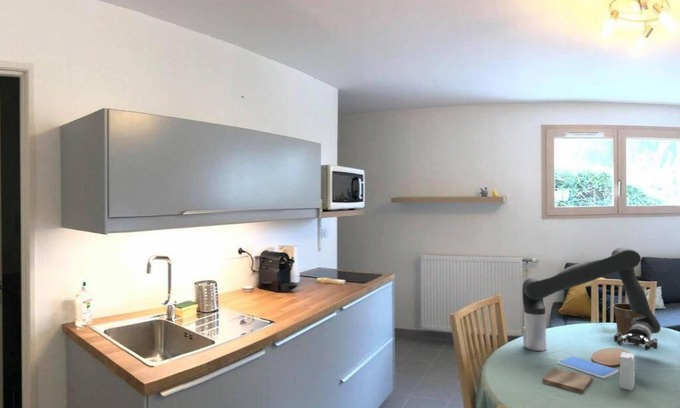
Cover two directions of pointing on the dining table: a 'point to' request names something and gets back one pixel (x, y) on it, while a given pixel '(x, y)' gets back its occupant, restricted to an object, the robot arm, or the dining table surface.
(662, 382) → the dining table surface
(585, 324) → the dining table surface
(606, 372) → the tablet computer
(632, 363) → the skincare box
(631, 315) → the plant pot
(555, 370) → the walnut board
